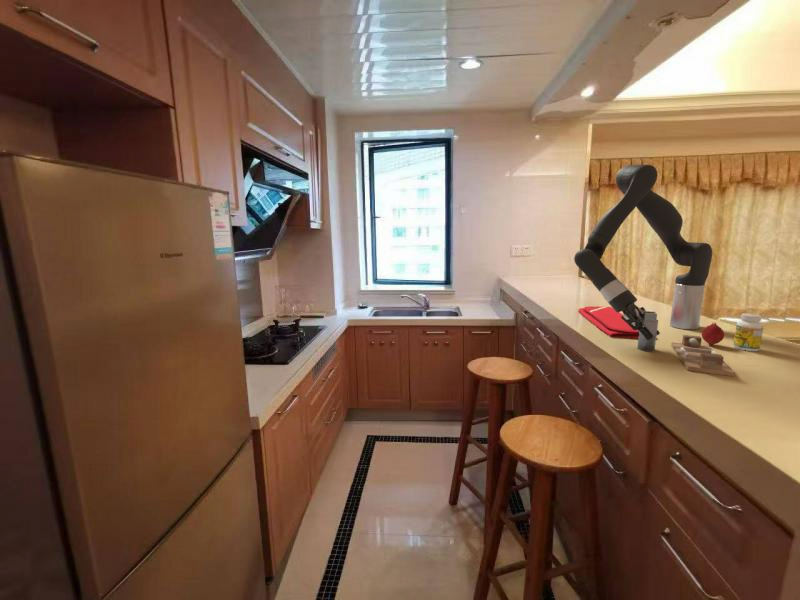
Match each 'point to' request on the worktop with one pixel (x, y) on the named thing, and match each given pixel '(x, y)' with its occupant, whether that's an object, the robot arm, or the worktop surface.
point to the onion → (712, 334)
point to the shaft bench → (700, 357)
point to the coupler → (651, 325)
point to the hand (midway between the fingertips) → (654, 336)
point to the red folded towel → (608, 321)
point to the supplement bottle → (748, 333)
